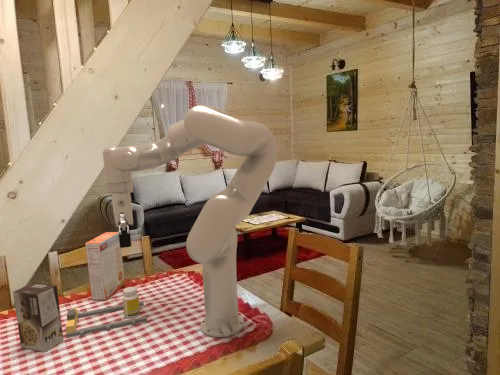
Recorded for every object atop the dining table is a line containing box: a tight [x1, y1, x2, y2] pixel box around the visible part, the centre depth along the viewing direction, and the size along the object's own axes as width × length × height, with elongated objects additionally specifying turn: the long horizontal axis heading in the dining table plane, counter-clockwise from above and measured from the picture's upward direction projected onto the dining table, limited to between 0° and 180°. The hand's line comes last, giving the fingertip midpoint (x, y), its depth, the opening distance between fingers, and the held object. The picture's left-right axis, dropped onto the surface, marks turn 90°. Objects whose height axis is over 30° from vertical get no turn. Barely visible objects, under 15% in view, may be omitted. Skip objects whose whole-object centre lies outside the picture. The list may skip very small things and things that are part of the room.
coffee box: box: [12, 282, 64, 353], centre depth 100 cm, size 9×6×16 cm
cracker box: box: [84, 231, 126, 301], centre depth 133 cm, size 14×6×21 cm, turn 172°
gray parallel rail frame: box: [65, 300, 148, 339], centre depth 114 cm, size 15×22×1 cm
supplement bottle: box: [122, 286, 141, 319], centre depth 115 cm, size 5×5×8 cm
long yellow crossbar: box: [65, 307, 79, 334], centre depth 110 cm, size 12×2×4 cm, turn 21°
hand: (125, 242), depth 113 cm, fingers open, 9 cm apart
